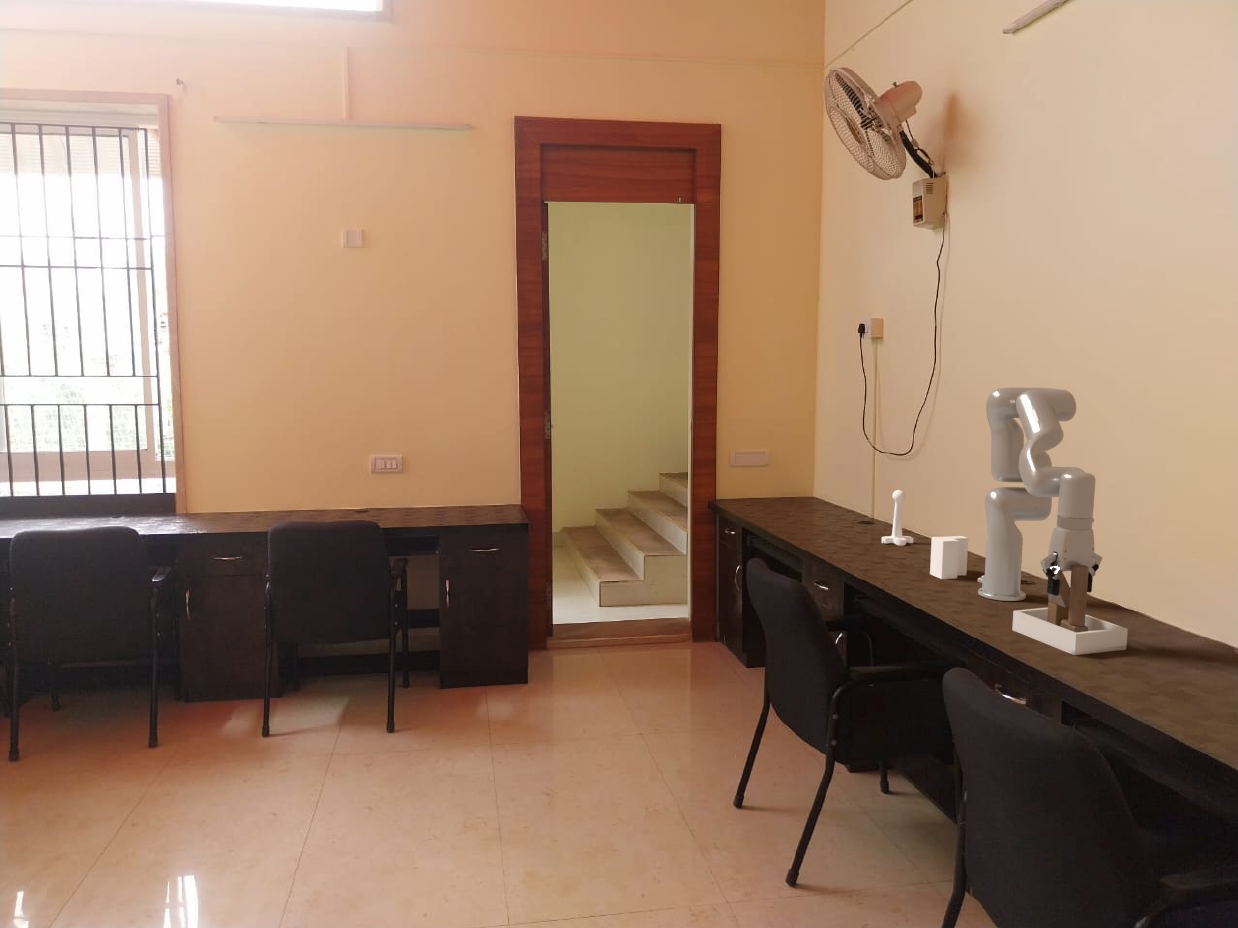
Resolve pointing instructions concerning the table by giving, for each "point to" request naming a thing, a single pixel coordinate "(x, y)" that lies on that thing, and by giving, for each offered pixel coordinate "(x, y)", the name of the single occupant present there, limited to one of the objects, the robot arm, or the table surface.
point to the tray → (1070, 633)
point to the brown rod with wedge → (1070, 601)
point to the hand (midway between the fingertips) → (1069, 592)
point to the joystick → (897, 522)
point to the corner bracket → (948, 556)
